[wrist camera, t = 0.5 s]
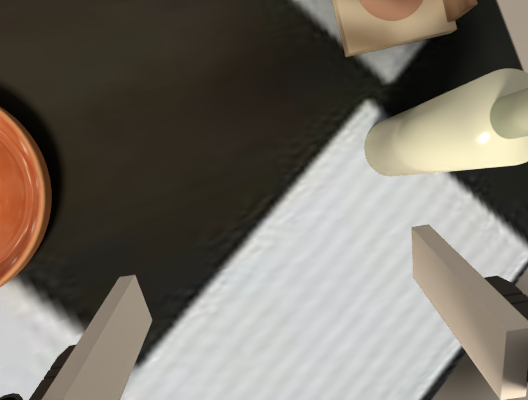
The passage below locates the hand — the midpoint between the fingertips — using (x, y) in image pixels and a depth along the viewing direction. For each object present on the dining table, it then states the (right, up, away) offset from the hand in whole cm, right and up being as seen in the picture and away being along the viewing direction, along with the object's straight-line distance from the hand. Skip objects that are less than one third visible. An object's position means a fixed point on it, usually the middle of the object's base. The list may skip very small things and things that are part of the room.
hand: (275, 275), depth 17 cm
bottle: (+15, +10, +27) cm, 32 cm away
